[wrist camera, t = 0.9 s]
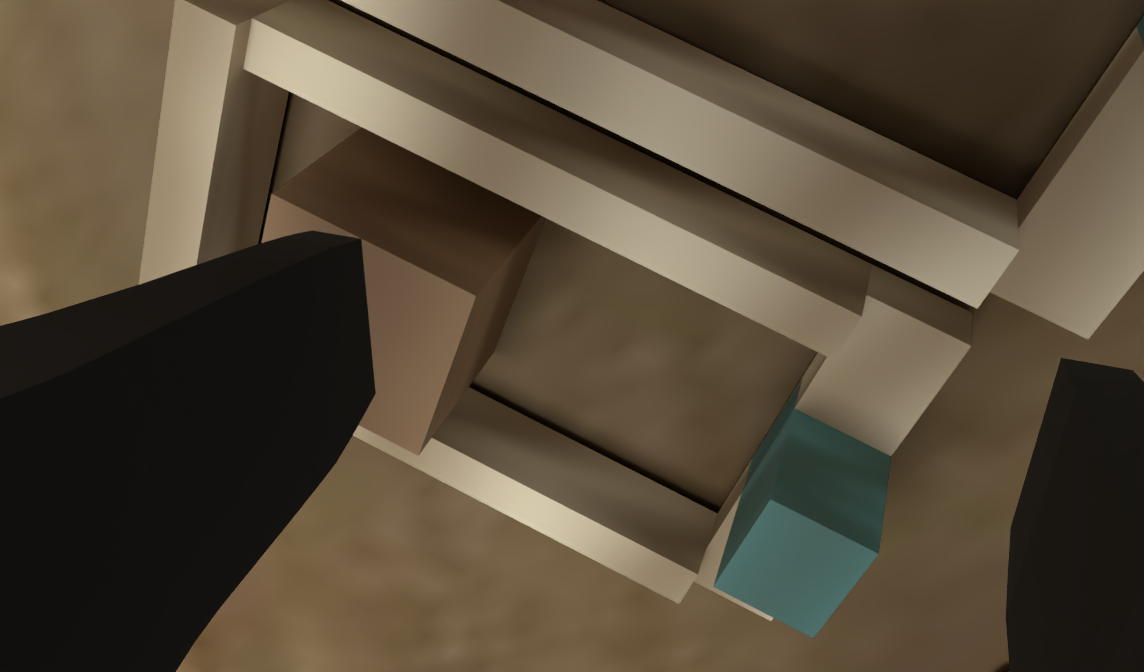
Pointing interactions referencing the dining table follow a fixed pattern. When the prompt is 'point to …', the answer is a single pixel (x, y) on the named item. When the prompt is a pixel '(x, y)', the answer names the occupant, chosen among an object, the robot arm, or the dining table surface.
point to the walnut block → (415, 270)
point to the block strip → (618, 222)
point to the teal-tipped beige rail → (834, 153)
